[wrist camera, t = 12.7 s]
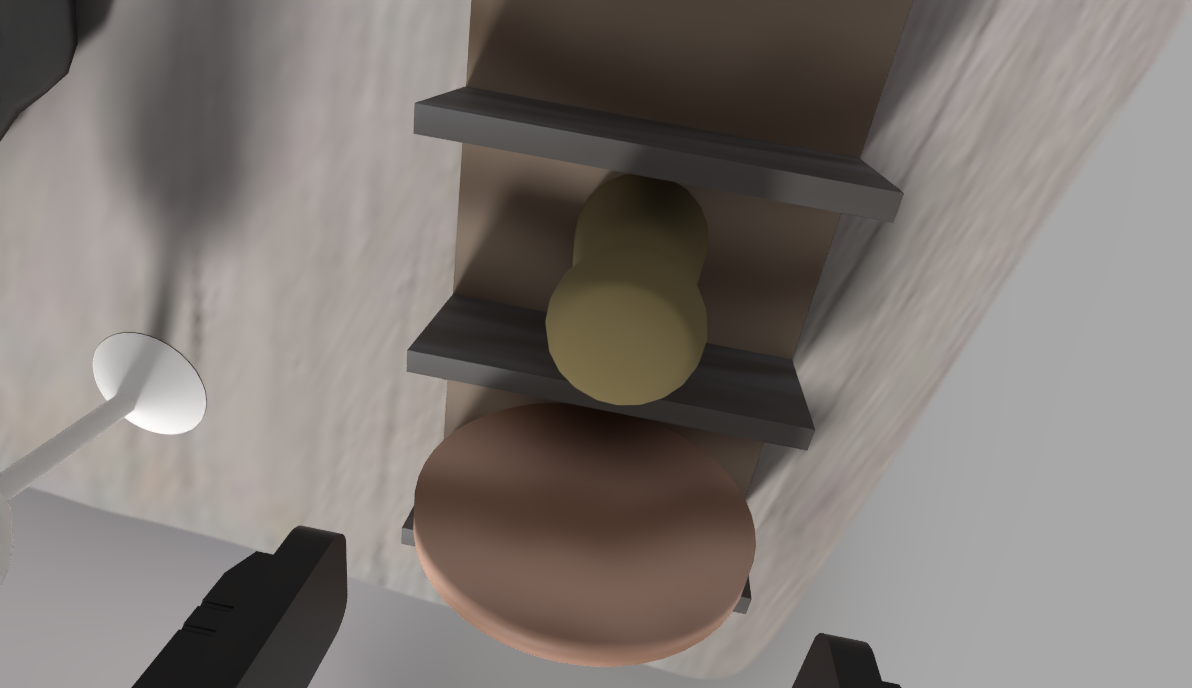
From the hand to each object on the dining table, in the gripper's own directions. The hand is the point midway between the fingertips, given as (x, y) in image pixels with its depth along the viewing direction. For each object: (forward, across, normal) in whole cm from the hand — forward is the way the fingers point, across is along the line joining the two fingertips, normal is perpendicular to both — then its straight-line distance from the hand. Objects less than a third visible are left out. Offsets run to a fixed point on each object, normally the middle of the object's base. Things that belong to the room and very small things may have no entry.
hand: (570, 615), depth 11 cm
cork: (+21, 0, 0) cm, 21 cm away
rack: (+22, 0, 0) cm, 22 cm away
